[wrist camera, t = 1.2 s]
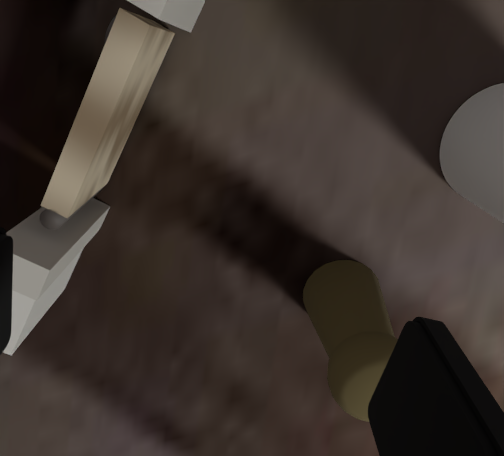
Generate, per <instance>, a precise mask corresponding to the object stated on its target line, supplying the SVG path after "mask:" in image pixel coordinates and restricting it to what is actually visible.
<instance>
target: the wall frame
mask: <svg viewBox="0 0 504 456" xmlns="http://www.w3.org/2000/svg"><path fill="white" fill-rule="evenodd" d="M127 1H129V2H130V3H132V4H134V5H136V6H137V7H139V8H141V9H142V10H144V11H146V12H147V13H149V14H151V15H152V16H154V17H156V18H157V19H159V20H162V21H164V22H166V23H169V24H171V25H174V26H176V27H178V28H181V29H183V30H185V31H188V32H190V33H191V31H192V29H193V27H194V24H195V22H196V20H197V18H198V16H199V14H200V12H201V9H202V7H203V5H204V3H205V0H127ZM109 208H110V206H109V205H107V204H104V203H102V202H100V201H98V200H96V199H94V198H92V199H91V200H90V201H89V202H88V203H87V204H85V205H84V206H83V207H82V208H81V209H80V210H79V211H78V212H76V213H75V214H74V215H73V216H72V217H71V218H70V219H69V220H67V221H66V222H65V223H64V224H63V225H62V226H61V227H60V228H58V229H56V230H49V229H47V228H45V227H44V226H43V225H42V224H41V222H40V214H41V212H42V211H44V210H45V209H46V208H44V207H42V208H40V209H39V210H37V211H36V212H35V213H33V214H32V215H30V216H29V217H28V218H26V219H25V220H23V221H22V222H21V223H19V224H18V225H16V226H15V227H14V228H12V229H11V230H9V231H8V232H7V233H6V234H7V235H8V236H11V237H12V239H13V280H12V324H11V337H10V340H9V343H8V345H7V347H6V348H5V350H4V351H3V352H4V353H6V354H9V355H12V354H13V353H14V352H15V350H16V349H17V348H18V347H19V345H20V344H21V343H22V342H23V340H24V339H25V338H26V337H27V335H28V334H29V333H30V332H31V330H32V329H33V328H34V327H35V325H36V324H37V323H38V322H39V320H40V319H41V318H42V317H43V315H44V314H45V313H46V312H47V310H48V309H49V308H50V307H51V305H52V304H53V303H54V302H55V300H56V299H57V298H58V297H59V296H60V294H61V293H62V292H63V291H64V289H65V287H66V285H67V283H68V281H69V278H70V276H71V274H72V272H73V270H74V267H75V265H76V263H77V261H78V259H79V256H80V254H81V252H82V250H83V248H84V246H85V245H86V244H87V243H88V242H89V241H90V240H91V239H92V237H93V236H94V235H95V234H96V233H97V232H98V231H99V229H100V228H101V225H102V223H103V221H104V219H105V217H106V215H107V213H108V210H109Z"/></svg>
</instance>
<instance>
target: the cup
mask: <svg viewBox="0 0 504 456" xmlns="http://www.w3.org/2000/svg"><path fill="white" fill-rule="evenodd" d="M440 165H441V169H442V173H443V175H444V177H445V179H446V181H447V182H448V184H449V185H450V186H451V188H452V189H453V190H454V191H455V192H457V193H458V194H459V195H461V196H462V197H464V198H465V199H467V200H468V201H470V202H472V203H473V204H475V205H476V206H478V207H479V208H481V209H482V210H484V211H485V212H487V213H488V214H490V215H491V216H493V217H494V218H496V219H497V220H499V221H501V222H502V223H504V83H501V84H496V85H493V86H490V87H488V88H486V89H483V90H482V91H480V92H478V93H476V94H475V95H473V96H472V97H470V98H469V99H468V100H467V101H466V102H464V103H463V104H462V105H461V106H460V107H459V109H458V110H457V111H456V112H455V113H454V115H453V116H452V118H451V119H450V121H449V123H448V124H447V126H446V128H445V131H444V133H443V136H442V140H441V144H440Z"/></svg>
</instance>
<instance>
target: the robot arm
mask: <svg viewBox="0 0 504 456" xmlns="http://www.w3.org/2000/svg"><path fill="white" fill-rule="evenodd" d="M12 280H13V239H12V237H11V236H8V235H7V234H6V231H5V229H4V228H1V227H0V354H1V353H2V352H3V351H4V350H5V348H6V347H7V345H8V343H9V340H10V337H11V324H12ZM368 418H369V422H370V425H371V428H372V432H373V435H374V438H375V442H376V445H377V448H378V452H379V455H380V456H504V412H503V411H502V409H501V408H500V406H499V405H498V403H497V402H496V400H495V399H494V397H493V396H492V394H491V393H490V391H489V390H488V388H487V387H486V386H485V384H484V383H483V381H482V380H481V378H480V377H479V375H478V374H477V372H476V371H475V369H474V368H473V366H472V365H471V363H470V362H469V360H468V359H467V357H466V356H465V354H464V353H463V351H462V350H461V348H460V347H459V345H458V344H457V342H456V341H455V339H454V338H453V336H452V335H451V333H450V332H449V330H448V329H447V327H446V326H445V324H444V323H443V322H441V321H437V320H432V319H427V318H423V317H416V318H415V319H414V320H413V321H408V322H407V323H406V324H405V326H404V328H403V330H402V332H401V334H400V336H399V339H398V341H397V343H396V345H395V347H394V349H393V352H392V354H391V356H390V358H389V360H388V363H387V365H386V367H385V369H384V371H383V373H382V376H381V378H380V380H379V382H378V384H377V387H376V389H375V391H374V393H373V395H372V397H371V400H370V402H369V405H368Z"/></svg>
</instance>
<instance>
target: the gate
mask: <svg viewBox="0 0 504 456" xmlns="http://www.w3.org/2000/svg"><path fill="white" fill-rule="evenodd" d="M174 35H175V33H173V32H172V31H170V30H168V29H166V28H165V27H163V26H161V25H160V24H158V23H156V22H155V21H153V20H151V19H148V18H145V17H143V16H140V15H138V14H135V13H132V12H130V11H127V10H125V9H122V8H119V11H118V13H117V15H116V16H115V17H114V18H113V19H112V20H111V22H110V24H109V26H108V28H107V31H106V34H105V39H104V41H105V46H104V48H103V51H102V53H101V56H100V58H99V61H98V63H97V66H96V68H95V71H94V73H93V76H92V78H91V81H90V83H89V86H88V88H87V91H86V93H85V96H84V98H83V101H82V103H81V106H80V108H79V111H78V113H77V116H76V118H75V121H74V123H73V126H72V128H71V131H70V133H69V136H68V138H67V141H66V143H65V146H64V148H63V151H62V153H61V156H60V158H59V161H58V163H57V166H56V168H55V171H54V173H53V176H52V178H51V181H50V183H49V186H48V188H47V191H46V193H45V196H44V198H43V201H42V203H41V206H42V207H44V208H46V209H45V210H44V211H42V212H41V214H40V222H41V224H42V225H43V226H44V227H45V228H47V229H49V230H56V229H58V228H60V227H61V226H62V225H63V224H64V223H65V222H66V221H67V220H69V219H70V218H71V217H72V216H73V215H74V214H75V213H76V212H78V211H79V210H80V209H81V208H82V207H83V206H84V205H85V204H87V203H88V202H89V201H90V200H91V199H92V198H93V197H94V196H96V195H97V194H98V193H99V192H100V191H101V190H102V189H103V187H104V186H105V185H106V184H107V183H108V181H109V179H110V176H111V174H112V172H113V170H114V168H115V165H116V163H117V161H118V159H119V157H120V154H121V152H122V150H123V148H124V145H125V143H126V141H127V139H128V137H129V134H130V132H131V130H132V128H133V125H134V123H135V121H136V119H137V117H138V114H139V112H140V110H141V108H142V105H143V103H144V101H145V99H146V97H147V94H148V92H149V90H150V88H151V86H152V83H153V81H154V79H155V77H156V74H157V72H158V70H159V68H160V66H161V63H162V61H163V59H164V57H165V54H166V52H167V50H168V48H169V46H170V43H171V41H172V39H173V37H174Z"/></svg>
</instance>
